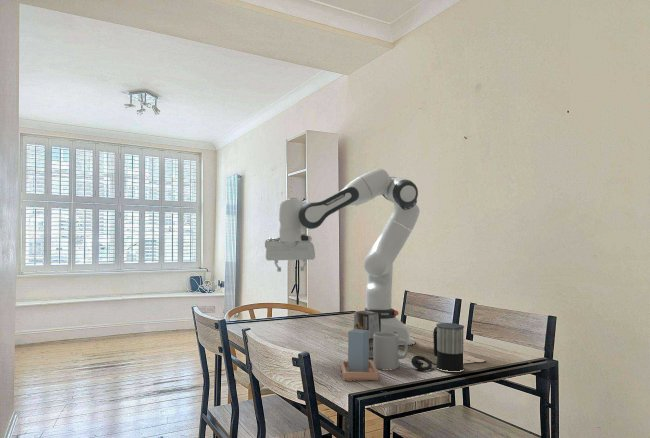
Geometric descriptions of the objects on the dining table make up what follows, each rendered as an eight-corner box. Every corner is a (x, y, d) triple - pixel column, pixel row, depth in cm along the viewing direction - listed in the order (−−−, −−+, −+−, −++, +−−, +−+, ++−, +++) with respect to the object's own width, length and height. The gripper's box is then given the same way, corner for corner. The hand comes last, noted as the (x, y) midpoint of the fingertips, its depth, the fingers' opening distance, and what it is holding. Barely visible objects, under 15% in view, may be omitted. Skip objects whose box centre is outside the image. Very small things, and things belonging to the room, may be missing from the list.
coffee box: (381, 356, 166) (381, 313, 167) (368, 359, 162) (368, 314, 163) (365, 351, 173) (365, 310, 174) (352, 353, 170) (353, 311, 171)
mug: (376, 370, 147) (376, 337, 148) (370, 363, 156) (370, 332, 156) (411, 370, 149) (411, 336, 149) (404, 363, 157) (404, 331, 158)
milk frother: (470, 371, 148) (470, 326, 149) (437, 378, 140) (437, 330, 140) (438, 361, 160) (438, 319, 161) (405, 367, 151) (405, 323, 152)
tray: (372, 368, 150) (372, 360, 150) (378, 380, 136) (378, 372, 136) (340, 368, 149) (340, 360, 150) (343, 380, 136) (343, 372, 136)
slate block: (354, 368, 146) (354, 328, 147) (368, 371, 144) (368, 330, 145) (348, 372, 142) (348, 331, 143) (362, 374, 139) (362, 332, 140)
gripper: (264, 237, 179) (264, 272, 178) (315, 236, 180) (315, 271, 179) (265, 238, 185) (265, 271, 184) (314, 237, 187) (315, 270, 185)
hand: (290, 271), depth 182 cm, fingers open, 8 cm apart
